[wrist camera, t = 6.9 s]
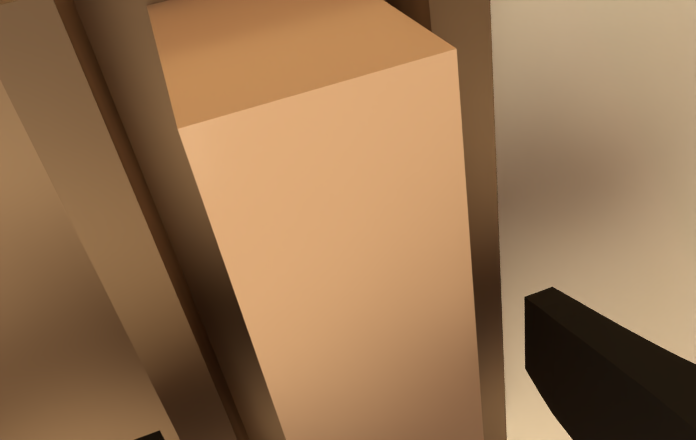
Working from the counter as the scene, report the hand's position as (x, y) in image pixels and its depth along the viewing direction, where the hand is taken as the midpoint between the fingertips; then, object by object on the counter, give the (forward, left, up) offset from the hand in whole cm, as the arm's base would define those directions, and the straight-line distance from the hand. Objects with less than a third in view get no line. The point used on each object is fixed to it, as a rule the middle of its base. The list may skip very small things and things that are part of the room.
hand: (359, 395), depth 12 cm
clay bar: (0, 0, -3) cm, 3 cm away
